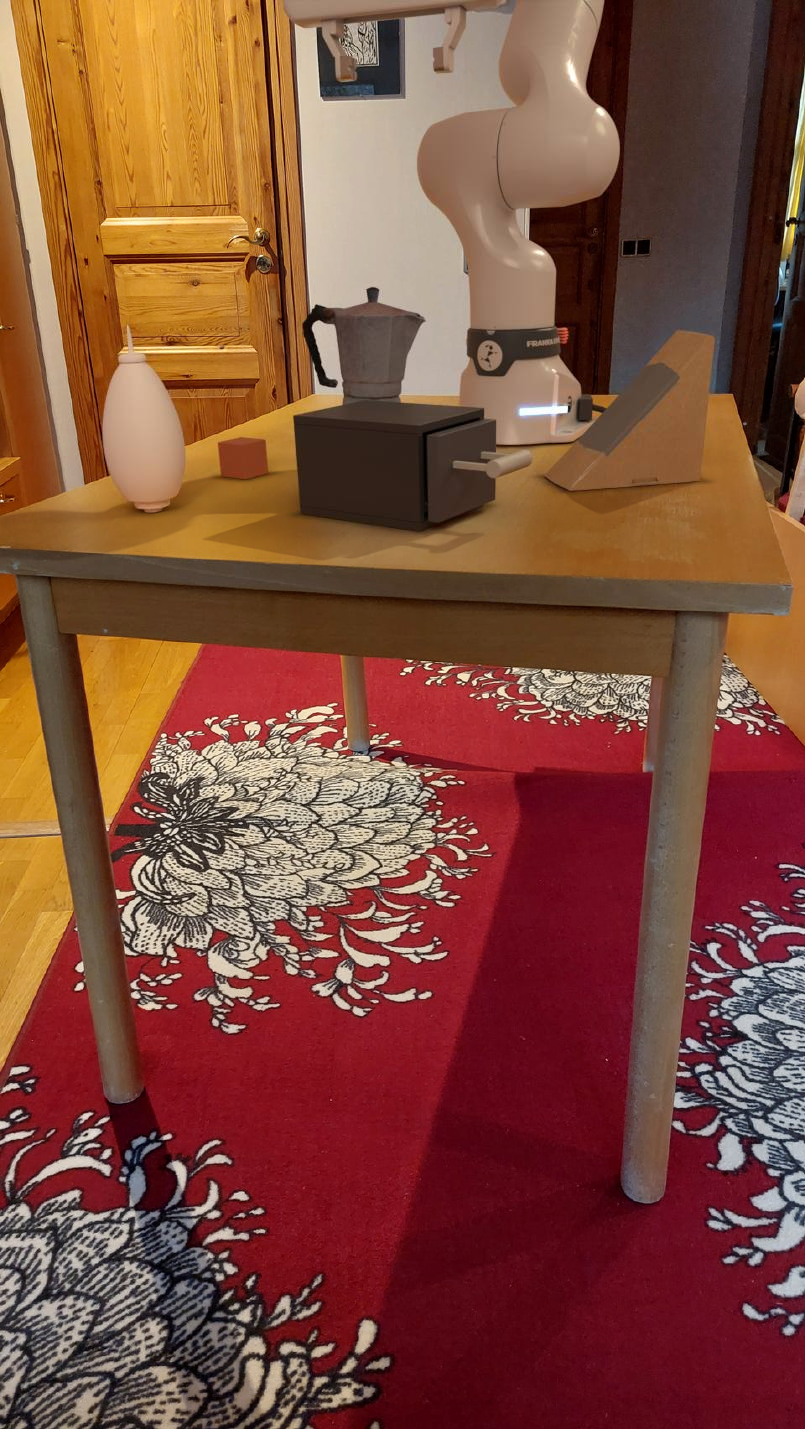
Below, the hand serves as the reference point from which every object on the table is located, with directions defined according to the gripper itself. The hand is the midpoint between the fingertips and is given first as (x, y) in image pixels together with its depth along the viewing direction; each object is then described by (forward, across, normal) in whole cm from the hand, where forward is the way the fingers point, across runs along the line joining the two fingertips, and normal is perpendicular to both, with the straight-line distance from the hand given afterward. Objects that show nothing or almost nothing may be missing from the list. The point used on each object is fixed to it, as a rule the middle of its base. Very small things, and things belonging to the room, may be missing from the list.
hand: (394, 76), depth 90 cm
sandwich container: (+38, -22, -12) cm, 45 cm away
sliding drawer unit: (+37, -6, +9) cm, 39 cm away
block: (+38, +22, -6) cm, 44 cm away
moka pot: (+38, +10, -17) cm, 43 cm away
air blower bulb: (+39, +23, +13) cm, 47 cm away
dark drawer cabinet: (+38, -1, +8) cm, 39 cm away
